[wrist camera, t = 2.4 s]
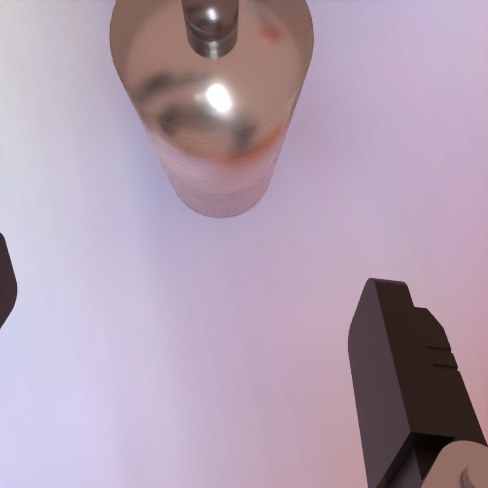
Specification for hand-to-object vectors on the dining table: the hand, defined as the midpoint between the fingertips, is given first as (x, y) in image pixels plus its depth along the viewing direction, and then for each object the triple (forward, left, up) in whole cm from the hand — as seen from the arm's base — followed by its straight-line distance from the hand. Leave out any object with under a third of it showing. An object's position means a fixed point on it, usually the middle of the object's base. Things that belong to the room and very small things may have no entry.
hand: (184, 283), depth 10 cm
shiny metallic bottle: (-1, +6, -11) cm, 12 cm away
